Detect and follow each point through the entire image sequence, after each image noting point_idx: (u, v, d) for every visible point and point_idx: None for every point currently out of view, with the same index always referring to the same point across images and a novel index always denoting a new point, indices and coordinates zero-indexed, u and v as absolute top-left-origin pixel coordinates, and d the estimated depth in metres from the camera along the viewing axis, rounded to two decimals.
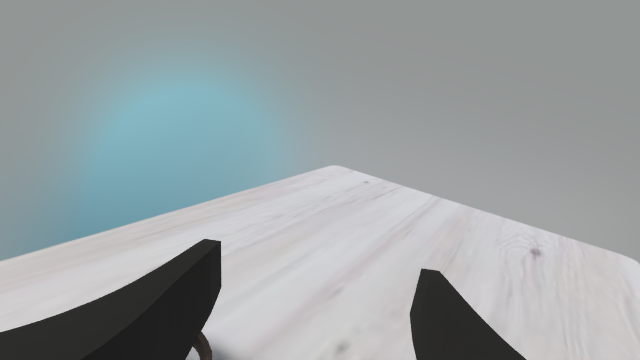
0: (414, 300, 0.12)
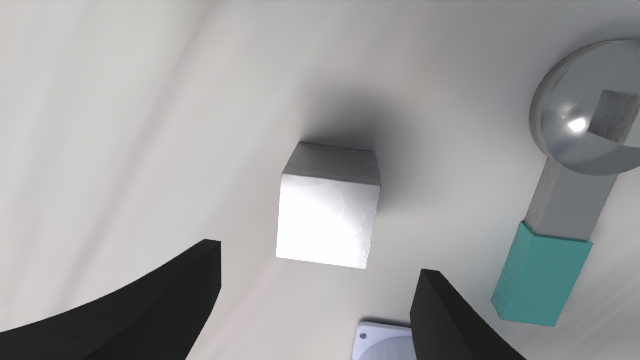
0: (414, 300, 0.12)
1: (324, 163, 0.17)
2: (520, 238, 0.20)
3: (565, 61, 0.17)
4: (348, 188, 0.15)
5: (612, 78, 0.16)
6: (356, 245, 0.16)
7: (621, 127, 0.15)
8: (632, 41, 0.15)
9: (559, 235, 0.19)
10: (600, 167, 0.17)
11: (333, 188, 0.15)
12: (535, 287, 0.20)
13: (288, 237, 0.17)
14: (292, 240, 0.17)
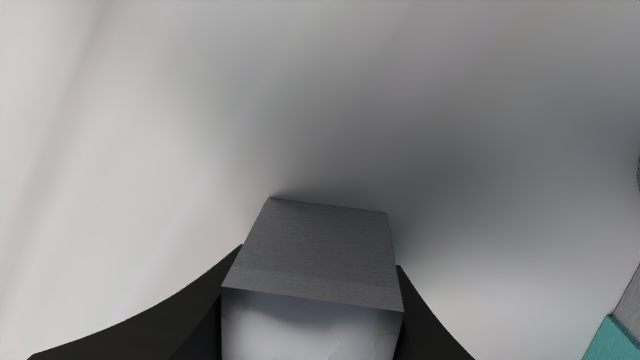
0: None
1: (303, 250, 0.10)
2: (607, 342, 0.13)
3: None
4: (343, 313, 0.08)
5: None
6: None
7: None
8: None
9: None
10: None
11: (316, 312, 0.08)
12: None
13: None
14: None
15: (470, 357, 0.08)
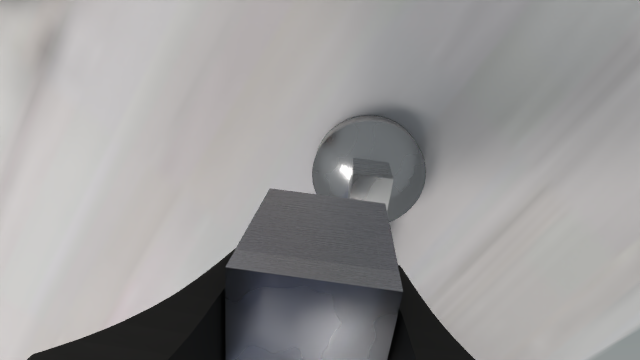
0: None
1: (305, 236, 0.10)
2: None
3: (330, 132, 0.20)
4: (343, 294, 0.09)
5: (358, 149, 0.19)
6: None
7: (349, 193, 0.18)
8: (367, 121, 0.19)
9: None
10: None
11: (318, 293, 0.09)
12: None
13: None
14: None
15: (470, 357, 0.08)
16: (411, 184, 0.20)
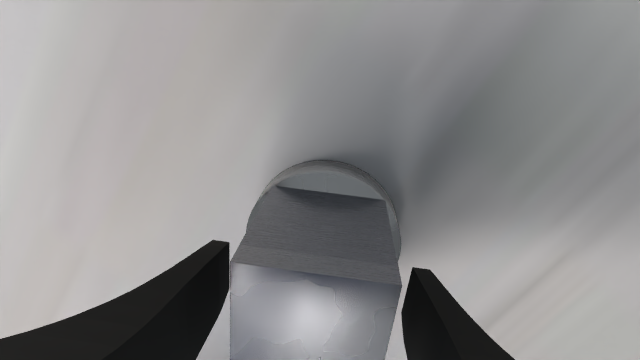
0: (405, 299, 0.12)
1: (307, 231, 0.11)
2: None
3: (271, 183, 0.15)
4: (344, 287, 0.09)
5: None
6: None
7: None
8: (316, 173, 0.13)
9: None
10: None
11: (319, 286, 0.09)
12: None
13: (247, 355, 0.10)
14: None
15: None
16: None
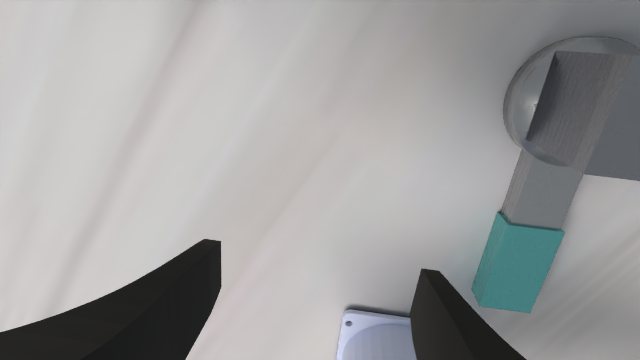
0: (414, 300, 0.12)
1: None
2: (497, 227, 0.21)
3: (535, 57, 0.18)
4: None
5: None
6: None
7: None
8: (596, 38, 0.16)
9: (532, 224, 0.20)
10: None
11: None
12: (511, 274, 0.21)
13: (609, 146, 0.13)
14: (613, 151, 0.13)
15: None
16: None
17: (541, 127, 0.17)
